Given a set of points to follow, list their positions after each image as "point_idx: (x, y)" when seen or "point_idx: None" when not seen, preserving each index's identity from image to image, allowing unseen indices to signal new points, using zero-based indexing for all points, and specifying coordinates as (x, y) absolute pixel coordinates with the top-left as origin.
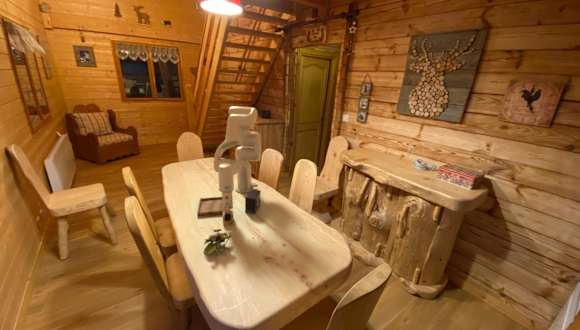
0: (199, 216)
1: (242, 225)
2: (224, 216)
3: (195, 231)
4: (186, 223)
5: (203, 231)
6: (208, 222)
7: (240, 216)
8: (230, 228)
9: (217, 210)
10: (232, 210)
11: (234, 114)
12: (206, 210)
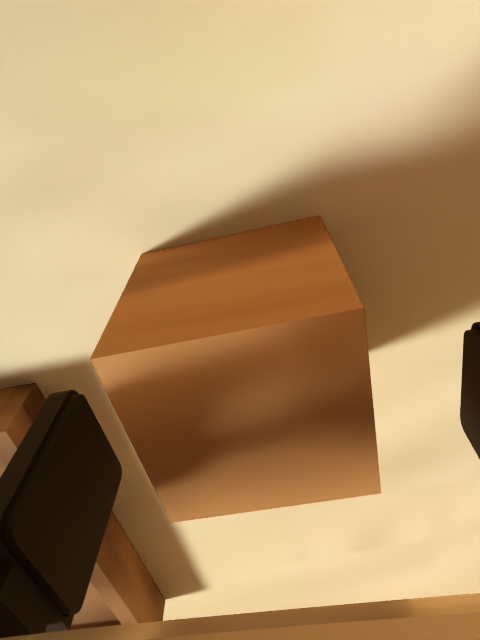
0: (159, 591)
1: (393, 6)
2: (377, 466)
3: (427, 565)
4: None
5: (444, 516)
6: (268, 512)
7: (41, 120)
8: (453, 244)
9: None
10: (107, 366)
11: None
12: None
